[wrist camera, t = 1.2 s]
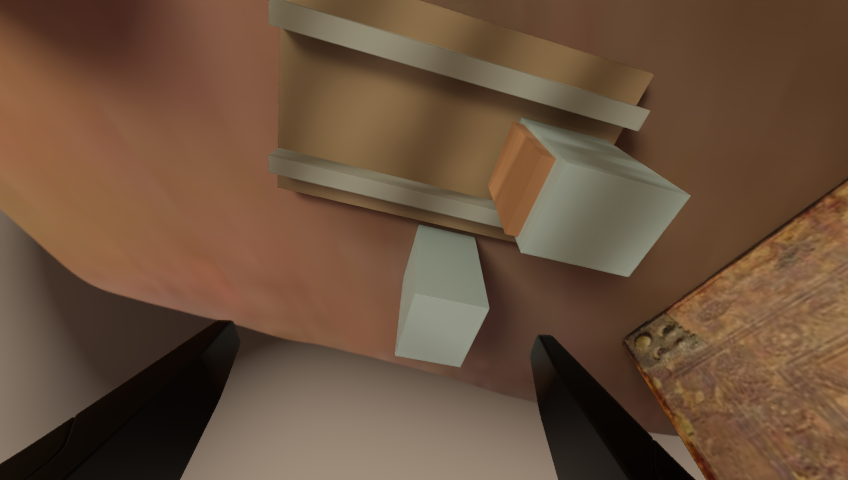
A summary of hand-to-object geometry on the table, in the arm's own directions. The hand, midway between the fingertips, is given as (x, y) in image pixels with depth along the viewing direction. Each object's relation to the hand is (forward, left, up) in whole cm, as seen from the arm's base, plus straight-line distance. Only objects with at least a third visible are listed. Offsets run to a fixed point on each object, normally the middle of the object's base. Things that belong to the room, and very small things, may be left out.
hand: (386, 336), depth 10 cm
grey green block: (-3, +6, -13) cm, 15 cm away
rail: (-1, -3, -13) cm, 13 cm away
